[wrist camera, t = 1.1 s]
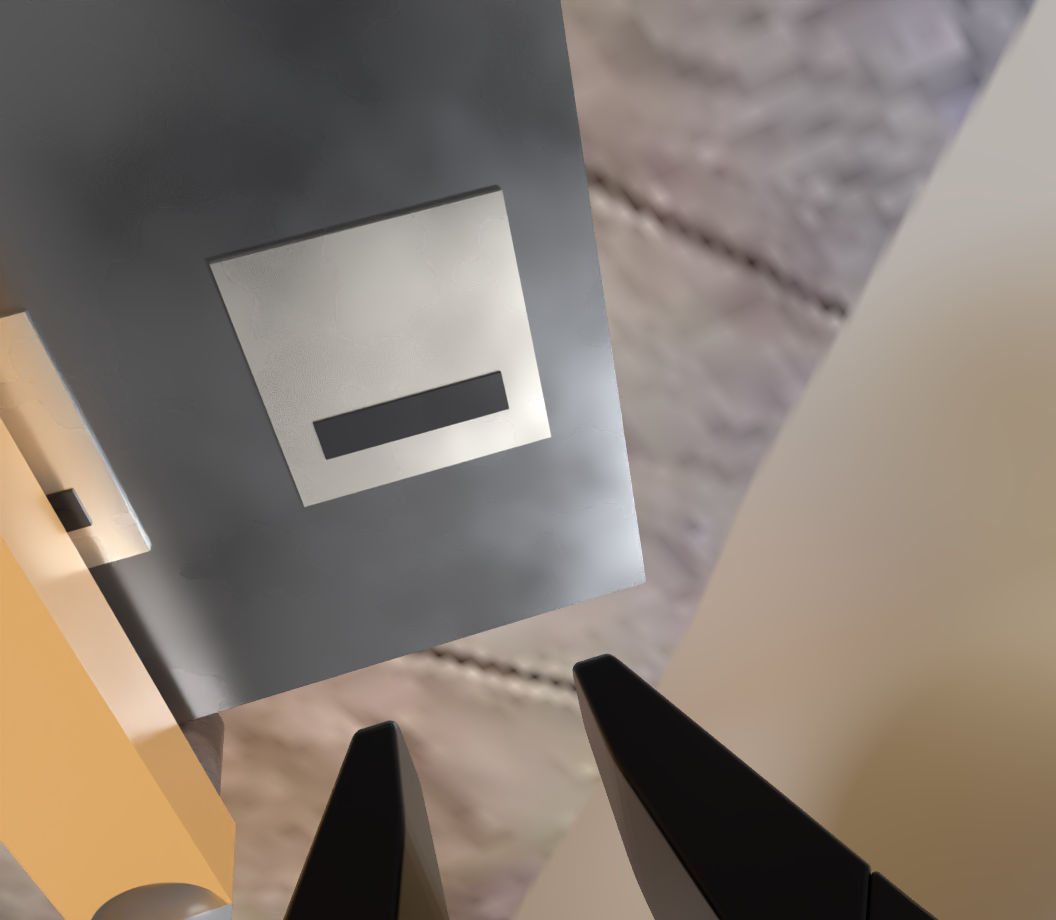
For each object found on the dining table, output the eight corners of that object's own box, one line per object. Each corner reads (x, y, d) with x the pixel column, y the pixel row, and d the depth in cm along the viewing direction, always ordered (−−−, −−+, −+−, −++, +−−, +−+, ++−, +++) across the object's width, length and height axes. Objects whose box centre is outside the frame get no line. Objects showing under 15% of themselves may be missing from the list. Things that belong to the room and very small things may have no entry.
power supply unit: (625, 624, 26) (666, 707, 23) (46, 802, 24) (17, 914, 21) (497, -133, 16) (542, -141, 13) (-489, 84, 14) (-665, 123, 12)
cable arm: (256, 860, 22) (254, 938, 20) (130, 900, 22) (118, 984, 20) (-180, 106, 12) (-251, 137, 11) (-413, 160, 12) (-523, 200, 11)
